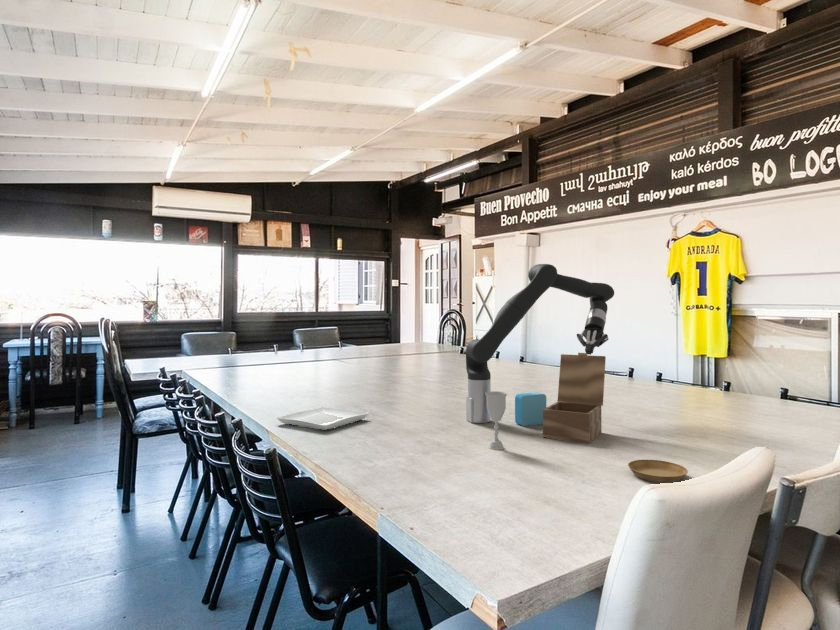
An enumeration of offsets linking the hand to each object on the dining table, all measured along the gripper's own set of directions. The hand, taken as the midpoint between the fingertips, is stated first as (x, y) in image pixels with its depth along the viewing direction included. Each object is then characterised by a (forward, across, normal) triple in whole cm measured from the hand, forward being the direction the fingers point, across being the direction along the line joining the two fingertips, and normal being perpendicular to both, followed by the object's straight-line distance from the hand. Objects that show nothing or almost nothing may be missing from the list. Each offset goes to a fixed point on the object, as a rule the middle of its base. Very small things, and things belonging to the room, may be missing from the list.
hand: (588, 353), depth 202 cm
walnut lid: (+15, 0, -3) cm, 15 cm away
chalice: (+57, -17, -18) cm, 62 cm away
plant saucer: (+60, +32, -20) cm, 71 cm away
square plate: (+59, -92, -18) cm, 111 cm away
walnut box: (+36, 0, +3) cm, 36 cm away
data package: (+30, -19, +10) cm, 37 cm away
